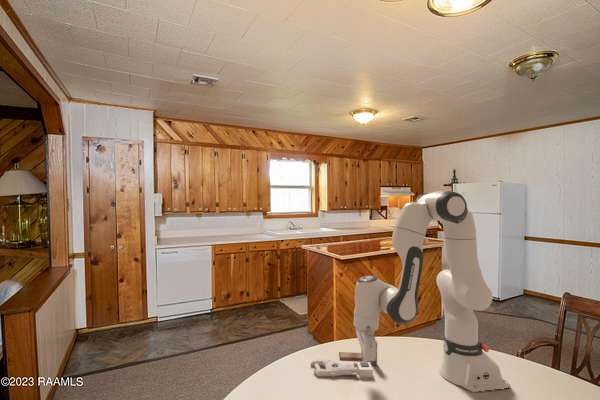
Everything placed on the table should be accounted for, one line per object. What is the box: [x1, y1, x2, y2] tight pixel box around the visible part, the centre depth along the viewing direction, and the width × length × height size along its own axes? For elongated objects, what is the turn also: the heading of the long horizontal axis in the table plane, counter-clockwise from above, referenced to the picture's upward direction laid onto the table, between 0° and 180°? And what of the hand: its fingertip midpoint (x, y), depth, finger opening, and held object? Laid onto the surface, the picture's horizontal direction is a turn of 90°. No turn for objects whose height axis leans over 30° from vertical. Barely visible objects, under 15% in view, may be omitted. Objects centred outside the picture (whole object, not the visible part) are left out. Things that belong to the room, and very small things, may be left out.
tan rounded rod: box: [369, 340, 378, 367], centre depth 118 cm, size 3×3×9 cm
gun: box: [310, 358, 359, 378], centre depth 113 cm, size 18×4×10 cm
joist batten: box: [338, 351, 363, 361], centre depth 122 cm, size 14×4×1 cm, turn 87°
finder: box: [356, 361, 374, 378], centre depth 111 cm, size 5×5×3 cm
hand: (364, 359), depth 105 cm, fingers closed
